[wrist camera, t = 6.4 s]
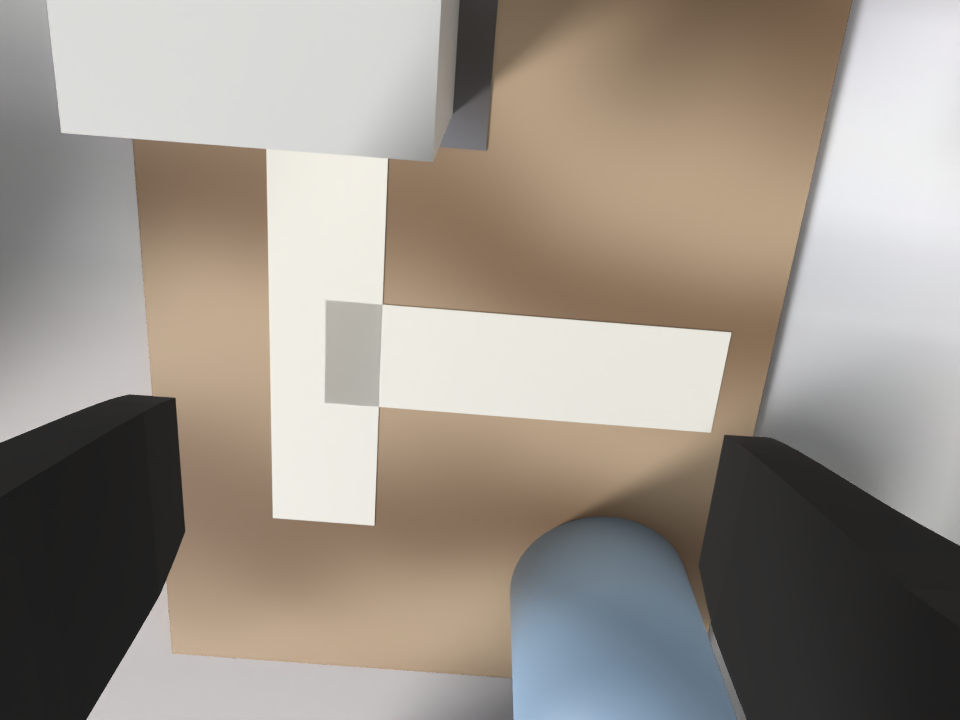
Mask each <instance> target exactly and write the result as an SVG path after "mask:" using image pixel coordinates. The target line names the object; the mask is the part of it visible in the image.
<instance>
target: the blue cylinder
mask: <svg viewBox="0 0 960 720" xmlns="http://www.w3.org/2000/svg"><path fill="white" fill-rule="evenodd" d="M510 613H511V648H512V683H513V719H514V720H737V718H736V715H735V712H734V710H733V707H732V704H731V701H730V698H729V695H728V692H727V689H726V686H725V684H724V681H723V678H722V675H721V672H720V669H719V666H718V663H717V660H716V658H715V655H714V652H713V649H712V646H711V643H710V640H709V637H708V634H707V632H706V629H705V626H704V623H703V620H702V617H701V614H700V611H699V608H698V606H697V603H696V600H695V597H694V594H693V591H692V588H691V585H690V582H689V580H688V577H687V574H686V571H685V568H684V565H683V563H682V560H681V559H680V557H679V555H678V553H677V552H676V550H675V549H674V548H673V547H672V545H671V544H670V543H669V542H668V541H667V540H666V539H665V538H664V537H662V536H661V535H660V534H658V533H657V532H655V531H654V530H652V529H650V528H648V527H647V526H645V525H642V524H640V523H637V522H634V521H631V520H627V519H623V518H616V517H588V518H582V519H578V520H573V521H570V522H567V523H564V524H562V525H560V526H557V527H555V528H553V529H551V530H550V531H548V532H546V533H545V534H543V535H542V536H540V537H539V538H538V539H537V540H535V541H534V542H533V543H532V544H531V545H530V546H529V547H528V548H527V549H526V551H525V552H524V553H523V555H522V556H521V557H520V559H519V561H518V563H517V565H516V567H515V569H514V572H513V575H512V579H511V584H510Z"/></svg>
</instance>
